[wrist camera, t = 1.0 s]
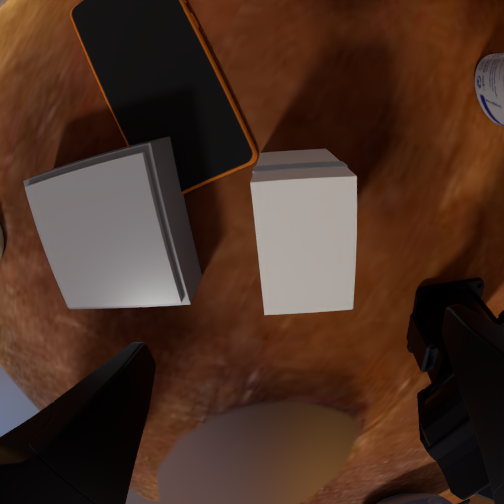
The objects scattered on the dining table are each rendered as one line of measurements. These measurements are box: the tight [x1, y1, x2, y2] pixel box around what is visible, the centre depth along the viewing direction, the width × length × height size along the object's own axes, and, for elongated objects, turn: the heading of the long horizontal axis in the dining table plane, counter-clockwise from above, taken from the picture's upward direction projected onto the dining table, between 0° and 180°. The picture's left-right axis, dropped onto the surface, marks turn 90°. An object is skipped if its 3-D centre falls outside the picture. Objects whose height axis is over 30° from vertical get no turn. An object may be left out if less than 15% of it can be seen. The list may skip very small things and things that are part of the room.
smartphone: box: [70, 0, 258, 195], centre depth 17 cm, size 8×17×1 cm, turn 24°
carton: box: [250, 149, 357, 315], centre depth 17 cm, size 4×6×8 cm
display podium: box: [23, 137, 202, 309], centre depth 20 cm, size 10×10×4 cm
